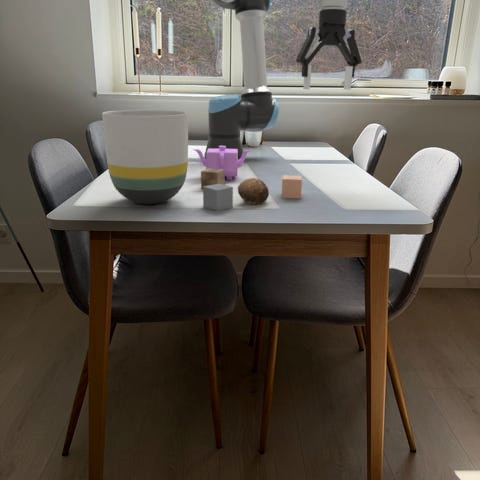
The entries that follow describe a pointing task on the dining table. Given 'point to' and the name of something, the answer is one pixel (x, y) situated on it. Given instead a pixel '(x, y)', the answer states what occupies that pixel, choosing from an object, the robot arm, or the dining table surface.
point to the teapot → (223, 160)
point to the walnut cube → (212, 177)
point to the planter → (146, 153)
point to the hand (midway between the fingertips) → (327, 89)
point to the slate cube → (217, 197)
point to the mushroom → (253, 191)
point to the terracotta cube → (291, 186)
